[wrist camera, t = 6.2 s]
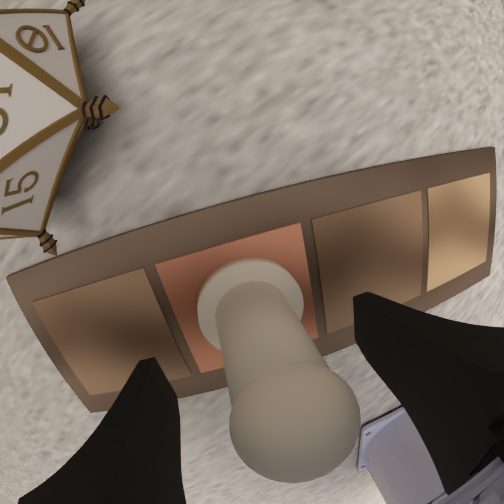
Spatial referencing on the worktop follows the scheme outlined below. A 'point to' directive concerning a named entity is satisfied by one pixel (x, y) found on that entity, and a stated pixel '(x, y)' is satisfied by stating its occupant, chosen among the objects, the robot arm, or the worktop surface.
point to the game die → (39, 115)
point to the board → (271, 247)
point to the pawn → (276, 374)
